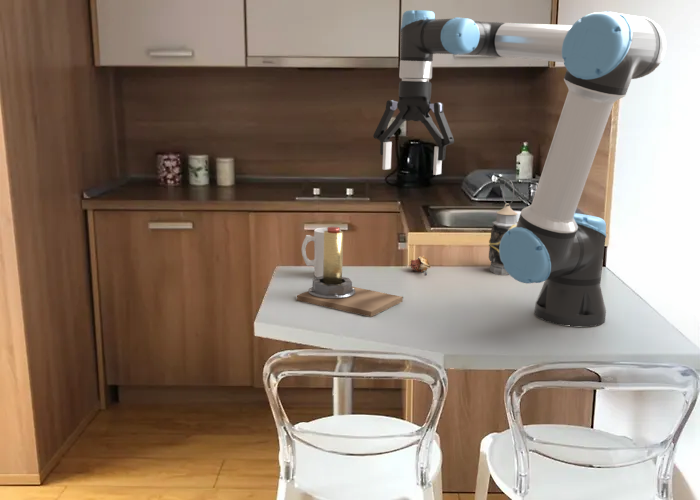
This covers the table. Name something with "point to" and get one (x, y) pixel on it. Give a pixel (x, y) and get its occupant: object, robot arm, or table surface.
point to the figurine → (420, 264)
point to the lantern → (500, 235)
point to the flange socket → (331, 289)
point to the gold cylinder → (333, 256)
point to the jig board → (356, 301)
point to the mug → (315, 250)
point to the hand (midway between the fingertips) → (411, 171)
